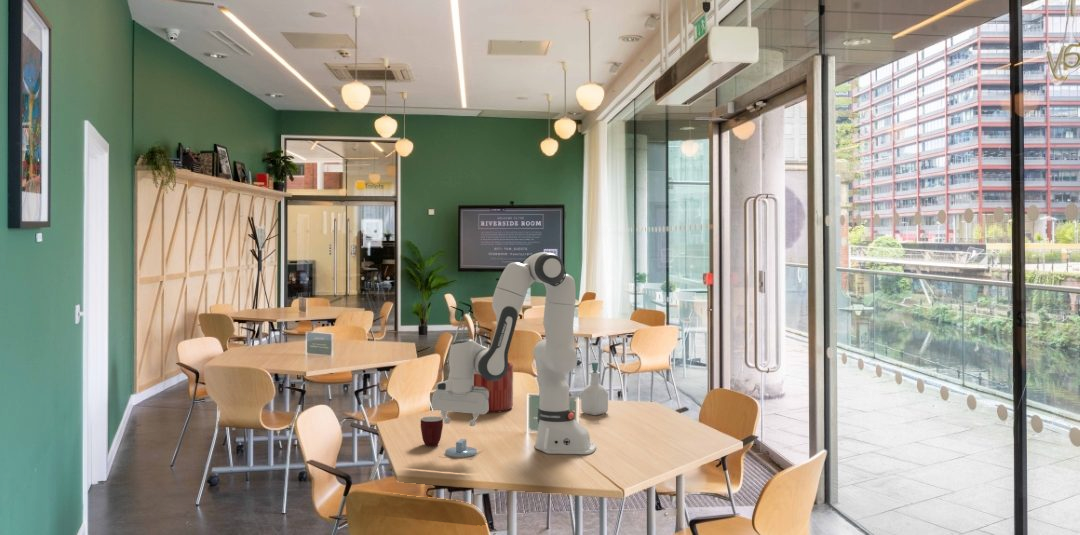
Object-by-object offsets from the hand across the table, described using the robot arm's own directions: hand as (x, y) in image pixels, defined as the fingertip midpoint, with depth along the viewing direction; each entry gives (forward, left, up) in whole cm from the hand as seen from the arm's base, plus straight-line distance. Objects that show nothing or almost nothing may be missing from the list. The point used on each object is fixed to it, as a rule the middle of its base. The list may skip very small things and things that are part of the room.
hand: (459, 424), depth 252 cm
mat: (-1, 0, -11) cm, 11 cm away
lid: (-1, 0, -10) cm, 10 cm away
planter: (+14, -76, -11) cm, 78 cm away
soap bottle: (-35, -79, -11) cm, 87 cm away
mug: (+13, -7, -11) cm, 19 cm away
